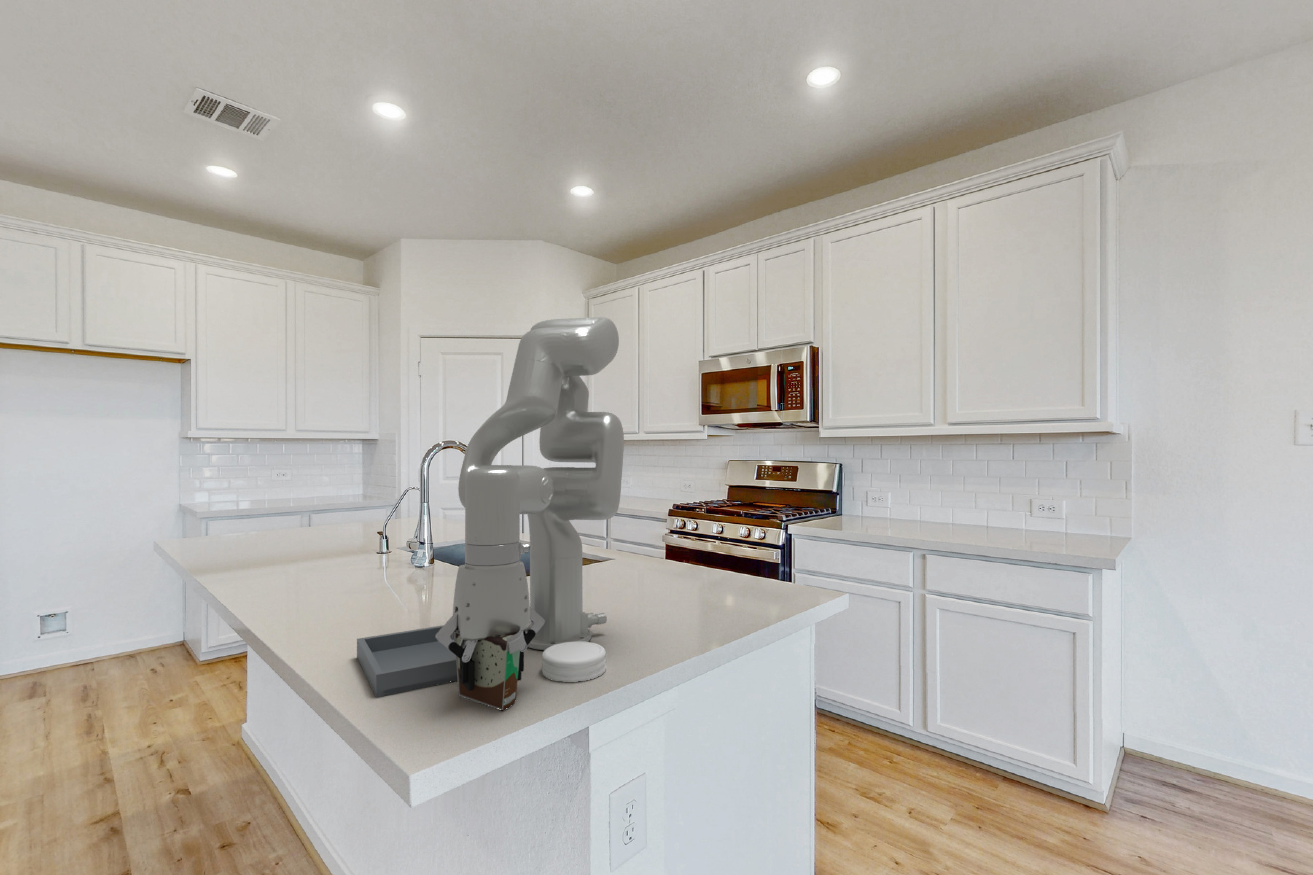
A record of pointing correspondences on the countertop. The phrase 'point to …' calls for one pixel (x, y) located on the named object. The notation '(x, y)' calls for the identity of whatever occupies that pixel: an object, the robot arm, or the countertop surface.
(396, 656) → the tray
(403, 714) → the countertop surface
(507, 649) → the food container
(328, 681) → the countertop surface
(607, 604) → the countertop surface
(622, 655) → the countertop surface
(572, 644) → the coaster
